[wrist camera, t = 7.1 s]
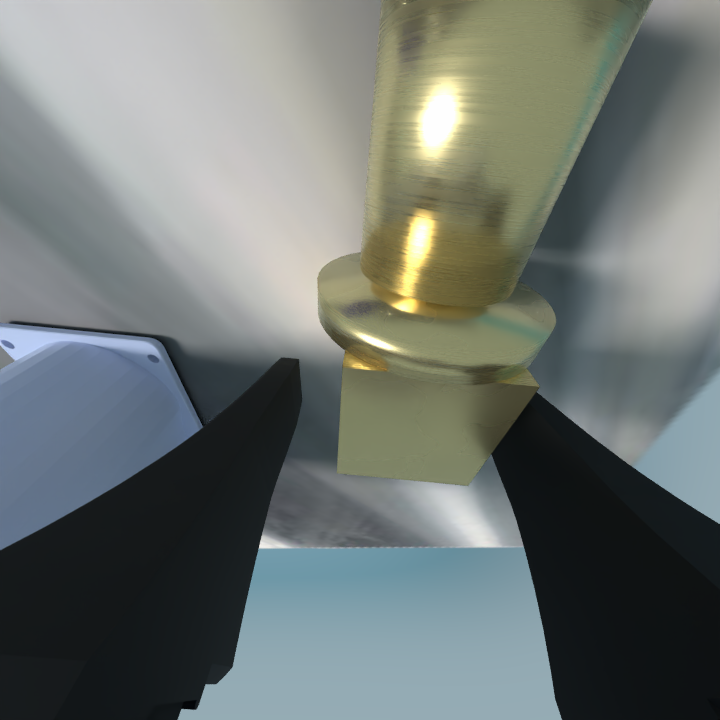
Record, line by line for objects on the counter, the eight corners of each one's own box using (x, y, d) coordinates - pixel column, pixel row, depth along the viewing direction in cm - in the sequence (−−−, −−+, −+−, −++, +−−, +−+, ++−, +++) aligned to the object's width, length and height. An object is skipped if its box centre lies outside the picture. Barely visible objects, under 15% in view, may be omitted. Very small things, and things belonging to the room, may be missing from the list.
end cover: (454, 365, 12) (501, 495, 7) (332, 353, 12) (304, 477, 7) (605, -10, 5) (1839, -919, 1) (340, -40, 5) (129, -1159, 1)
